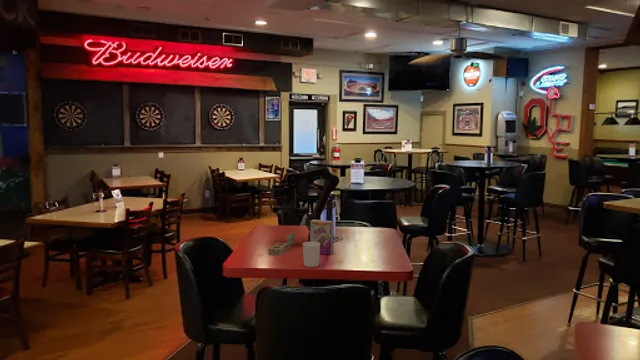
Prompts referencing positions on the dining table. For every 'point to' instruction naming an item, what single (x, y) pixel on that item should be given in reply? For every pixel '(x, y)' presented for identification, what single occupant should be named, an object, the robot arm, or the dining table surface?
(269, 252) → the brown block with holes
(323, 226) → the candy bar box
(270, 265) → the dining table surface
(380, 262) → the dining table surface
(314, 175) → the robot arm
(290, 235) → the clip
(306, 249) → the white cup
